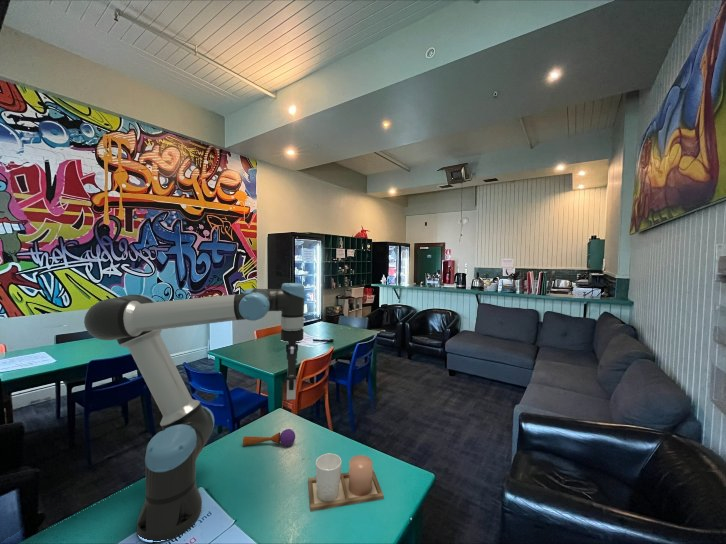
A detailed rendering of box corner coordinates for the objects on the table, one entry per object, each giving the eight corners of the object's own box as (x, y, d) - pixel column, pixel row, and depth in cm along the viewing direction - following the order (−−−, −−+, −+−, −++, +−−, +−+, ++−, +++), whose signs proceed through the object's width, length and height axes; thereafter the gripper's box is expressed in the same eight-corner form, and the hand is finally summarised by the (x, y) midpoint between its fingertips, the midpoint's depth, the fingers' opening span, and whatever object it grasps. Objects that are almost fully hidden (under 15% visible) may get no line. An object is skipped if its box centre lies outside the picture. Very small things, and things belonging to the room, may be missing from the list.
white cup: (328, 507, 85) (329, 474, 85) (309, 495, 90) (310, 462, 90) (345, 491, 92) (346, 459, 91) (327, 480, 96) (327, 450, 96)
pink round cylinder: (351, 498, 89) (351, 472, 89) (346, 480, 96) (347, 456, 96) (374, 494, 91) (375, 468, 91) (368, 477, 98) (369, 453, 98)
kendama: (246, 430, 119) (296, 426, 120) (246, 446, 118) (296, 441, 120) (241, 435, 114) (293, 431, 115) (241, 452, 113) (293, 448, 114)
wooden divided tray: (310, 515, 84) (310, 507, 84) (308, 484, 96) (308, 478, 96) (383, 502, 89) (383, 495, 89) (373, 475, 101) (373, 468, 101)
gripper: (305, 336, 89) (303, 406, 89) (302, 321, 113) (301, 375, 113) (279, 337, 87) (278, 408, 87) (282, 321, 111) (281, 377, 112)
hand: (291, 390), depth 100 cm, fingers open, 13 cm apart
